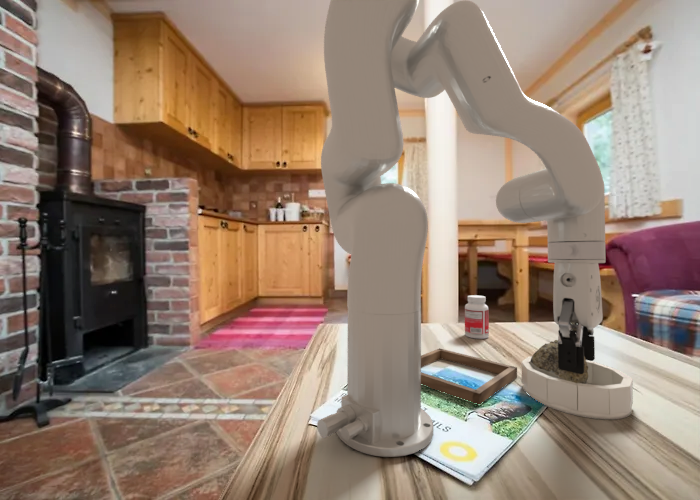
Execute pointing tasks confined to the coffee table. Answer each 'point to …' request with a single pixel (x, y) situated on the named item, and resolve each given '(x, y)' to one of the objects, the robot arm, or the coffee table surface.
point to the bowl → (582, 391)
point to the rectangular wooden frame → (487, 389)
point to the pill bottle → (476, 317)
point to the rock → (556, 363)
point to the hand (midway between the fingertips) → (577, 363)
